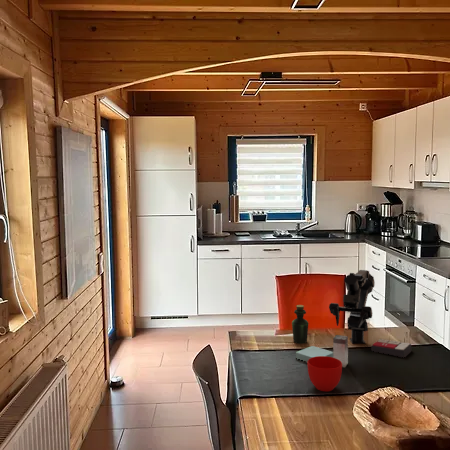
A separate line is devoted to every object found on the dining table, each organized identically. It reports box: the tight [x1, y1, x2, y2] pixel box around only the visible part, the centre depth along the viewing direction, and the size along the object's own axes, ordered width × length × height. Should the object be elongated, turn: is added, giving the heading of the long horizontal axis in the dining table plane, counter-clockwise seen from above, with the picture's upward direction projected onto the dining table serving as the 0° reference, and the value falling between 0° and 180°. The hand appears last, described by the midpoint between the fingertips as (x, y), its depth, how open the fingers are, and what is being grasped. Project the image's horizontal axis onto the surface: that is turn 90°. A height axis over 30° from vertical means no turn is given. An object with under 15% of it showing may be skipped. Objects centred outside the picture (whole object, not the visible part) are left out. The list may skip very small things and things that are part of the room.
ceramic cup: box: [306, 356, 343, 392], centre depth 181 cm, size 13×17×10 cm
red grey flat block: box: [370, 338, 412, 359], centre depth 218 cm, size 11×4×15 cm
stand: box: [295, 345, 333, 363], centre depth 209 cm, size 12×12×3 cm
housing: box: [332, 334, 349, 368], centre depth 202 cm, size 5×5×12 cm
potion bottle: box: [291, 304, 310, 345], centre depth 232 cm, size 8×8×18 cm
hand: (347, 326), depth 210 cm, fingers open, 9 cm apart
